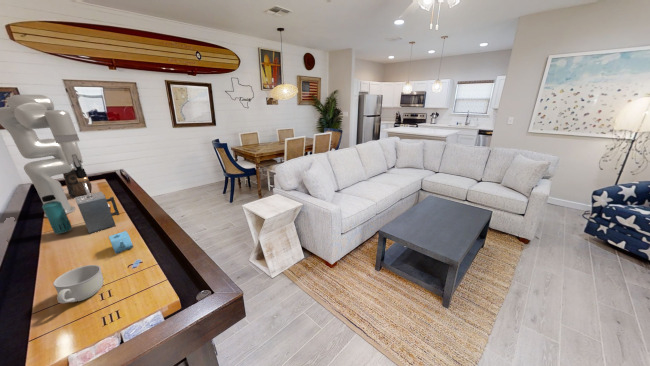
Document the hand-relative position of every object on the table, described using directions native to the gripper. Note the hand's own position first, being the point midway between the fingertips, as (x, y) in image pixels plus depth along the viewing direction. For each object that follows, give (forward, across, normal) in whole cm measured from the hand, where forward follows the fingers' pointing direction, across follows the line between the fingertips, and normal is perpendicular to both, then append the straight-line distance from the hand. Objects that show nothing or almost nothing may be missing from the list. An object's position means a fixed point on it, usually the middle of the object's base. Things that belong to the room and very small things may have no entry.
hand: (82, 177), depth 113 cm
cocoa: (+27, -20, +4) cm, 34 cm away
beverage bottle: (+27, -8, -13) cm, 31 cm away
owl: (+27, -74, -2) cm, 79 cm away
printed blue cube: (+28, +35, +3) cm, 44 cm away
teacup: (+28, +58, -12) cm, 65 cm away
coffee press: (+27, 0, +1) cm, 27 cm away
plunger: (+18, 0, 0) cm, 18 cm away
